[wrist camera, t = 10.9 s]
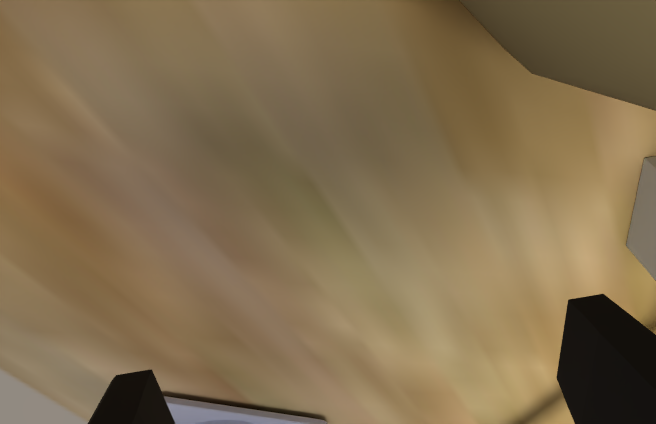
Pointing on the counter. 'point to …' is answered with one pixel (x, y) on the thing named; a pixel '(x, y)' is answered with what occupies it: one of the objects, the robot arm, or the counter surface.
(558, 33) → the squeeze bottle
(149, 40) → the counter surface
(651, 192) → the grey u-shaped block
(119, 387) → the robot arm
